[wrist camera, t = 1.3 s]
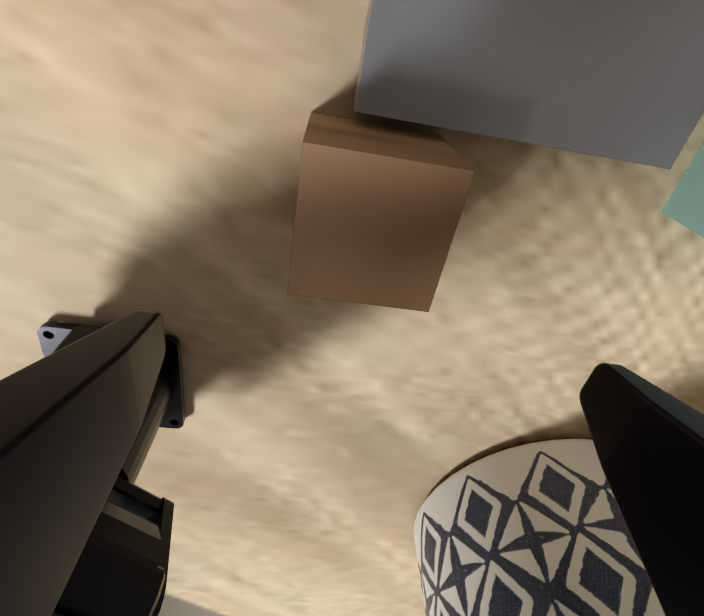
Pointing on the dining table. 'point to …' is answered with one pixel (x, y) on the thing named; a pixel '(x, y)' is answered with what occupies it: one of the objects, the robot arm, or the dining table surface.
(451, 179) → the walnut block
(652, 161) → the slate board
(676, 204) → the teal block
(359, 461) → the dining table surface
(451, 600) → the planter
